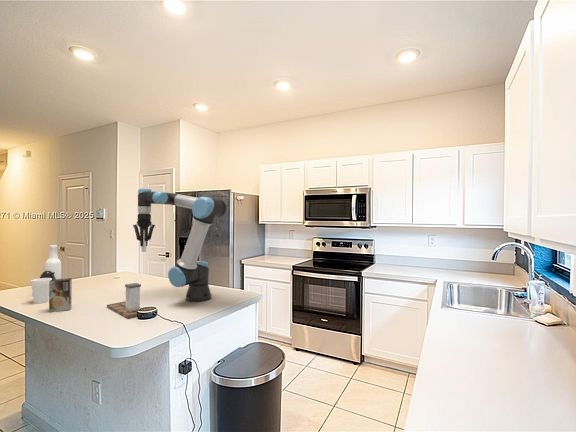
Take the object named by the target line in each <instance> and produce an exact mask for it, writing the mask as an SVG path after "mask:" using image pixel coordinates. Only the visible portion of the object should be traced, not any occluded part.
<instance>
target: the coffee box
mask: <svg viewBox="0 0 576 432" xmlns="http://www.w3.org/2000/svg"><path fill="white" fill-rule="evenodd" d="M72 279H73V278H69V277H67V278H61V279H52V280H50V282H49V299H48V313H55V312H56V313H57V312H63V311H70V310H71V309H72V298H73V297H72V294H73V293H72V292H73V291H72V287H73V286H72V285H73V284H72V283H73V281H72Z"/></svg>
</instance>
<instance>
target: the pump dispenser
mask: <svg viewBox="0 0 576 432" xmlns="http://www.w3.org/2000/svg"><path fill="white" fill-rule="evenodd" d="M54 274H55V272H53V273H52V272H51V271H45V270H44V271H43V272H42V273H41V274H40V276H39V278H52V279H56V278H55V276H54Z"/></svg>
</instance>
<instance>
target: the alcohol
mask: <svg viewBox="0 0 576 432" xmlns="http://www.w3.org/2000/svg"><path fill="white" fill-rule="evenodd" d="M44 271H51V272H52V273H53V272H55V274H54V276H55V278H56V279H62V261H61V260H60V259H59V256H58V245H57V244H50V245H49V254H48V258H47V259H46V261H45V263H44Z"/></svg>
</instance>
